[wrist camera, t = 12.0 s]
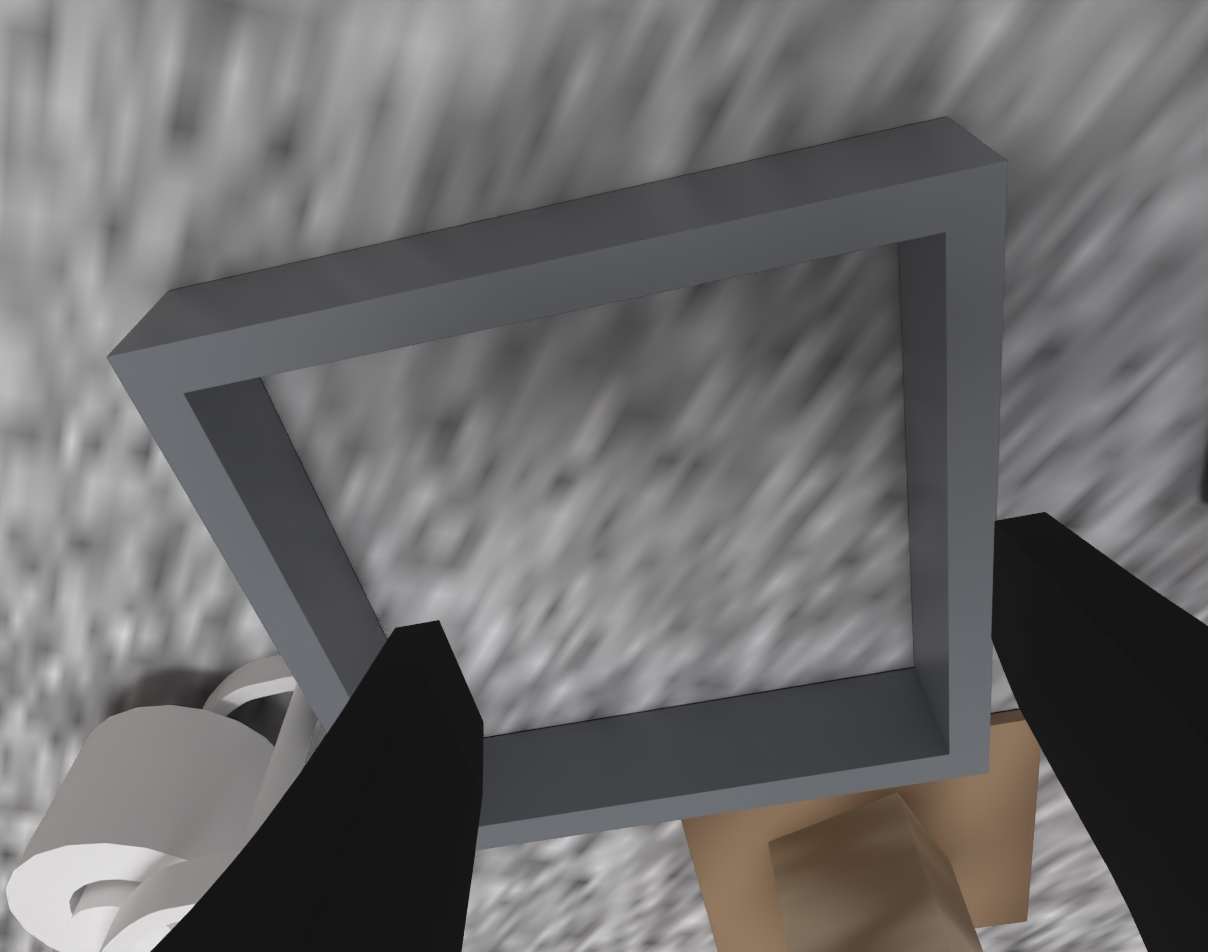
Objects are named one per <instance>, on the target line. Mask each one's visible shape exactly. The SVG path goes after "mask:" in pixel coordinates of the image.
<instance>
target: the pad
mask: <svg viewBox="0 0 1208 952" xmlns="http://www.w3.org/2000/svg"><path fill="white" fill-rule="evenodd" d="M1040 749H1041V747H1040V746H1039V744H1038V742H1037V740H1036V738H1035V736H1034V735H1033V733H1032V731H1031V729H1030V727H1029V726H1028V724H1027V722H1026V720H1025V718H1024V716H1023V714H1022V713H1021V711H1020V710H1014V711H1008V712H1001V713H995V714H991V717H990V750H989V773H985V774H978V775H972V776H965V777H958V778H952V779H945V780H939V781H932V782H925V783H919V784H912V785H905V786H899V787H892V788H886V789H879V790H872V791H866V792H859V793H852V794H846V795H839V796H833V797H826V798H819V799H813V800H806V801H799V802H793V803H786V804H780V805H773V806H766V807H760V808H753V809H746V810H740V811H733V812H727V813H720V814H713V815H707V816H700V817H693V818H687V819H681V821H682V824H683V828H684V831H685V835H686V838H687V842H688V846H689V849H690V853H691V856H692V860H693V864H694V867H695V871H696V874H697V878H698V882H699V885H700V889H701V892H702V896H703V900H704V903H705V907H706V910H707V914H708V918H709V921H710V925H711V928H712V932H713V936H714V939H715V943H716V946H717V950H718V952H789V951H788V945H787V940H786V935H785V929H784V924H783V919H782V914H781V908H780V903H779V898H778V892H777V887H776V882H775V876H774V871H773V866H772V860H771V855H770V850H769V845H768V842H770V841H772V840H775V839H777V838H780V837H783V836H785V835H788V834H790V833H793V832H795V831H798V830H801V829H803V828H806V827H808V826H811V825H814V824H816V823H819V822H821V821H824V820H827V819H829V818H832V817H834V816H837V815H840V814H842V813H845V812H847V811H850V810H852V809H855V808H858V807H860V806H863V805H865V804H868V803H871V802H873V801H876V800H878V799H881V798H884V797H886V796H889V795H891V794H894V793H897V792H898V793H899V795H900V796H901V797H902V799H903V800H904V801H905V803H906V804H907V805H908V807H909V808H910V809H911V811H912V812H913V813H914V815H915V816H916V817H917V819H918V820H919V821H920V823H921V824H922V825H923V826H924V828H925V829H926V830H927V832H928V833H929V834H930V836H931V837H932V838H933V840H934V841H935V842H936V844H937V845H938V846H939V848H940V849H941V850H942V852H943V853H944V854H945V856H946V857H947V858H948V860H949V861H950V862H951V865H952V868H953V871H954V873H955V876H956V879H957V882H958V884H959V887H960V890H961V893H962V895H963V898H964V901H965V903H966V906H967V909H968V912H969V914H970V917H971V920H972V923H973V925H974V928H980V927H988V926H995V925H1003V924H1010V923H1018V922H1025V921H1027V914H1028V902H1029V889H1030V876H1031V863H1032V851H1033V838H1034V825H1035V813H1036V800H1037V787H1038V774H1039V762H1040Z"/></svg>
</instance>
